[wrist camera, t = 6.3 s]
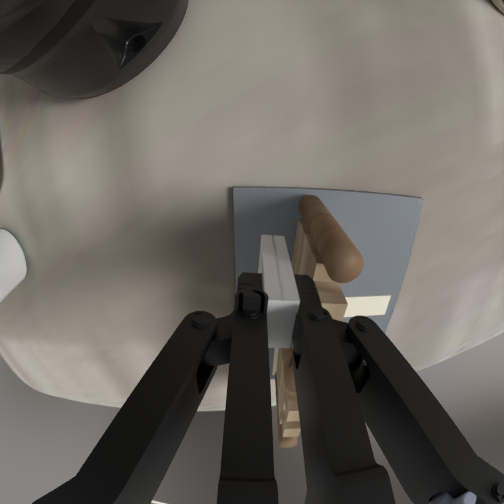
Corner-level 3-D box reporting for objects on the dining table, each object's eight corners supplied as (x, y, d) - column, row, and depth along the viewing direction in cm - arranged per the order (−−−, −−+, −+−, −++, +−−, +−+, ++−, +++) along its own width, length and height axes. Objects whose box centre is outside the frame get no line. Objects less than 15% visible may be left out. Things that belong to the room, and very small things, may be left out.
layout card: (239, 376, 30) (239, 379, 29) (233, 186, 20) (232, 188, 20) (366, 370, 30) (367, 373, 29) (420, 197, 20) (423, 199, 19)
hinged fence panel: (284, 296, 23) (294, 379, 15) (300, 193, 19) (331, 246, 11) (304, 297, 24) (322, 378, 15) (324, 196, 19) (368, 250, 11)
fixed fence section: (271, 375, 30) (274, 448, 21) (278, 295, 24) (287, 383, 16) (291, 374, 30) (299, 447, 21) (304, 295, 24) (324, 381, 16)
